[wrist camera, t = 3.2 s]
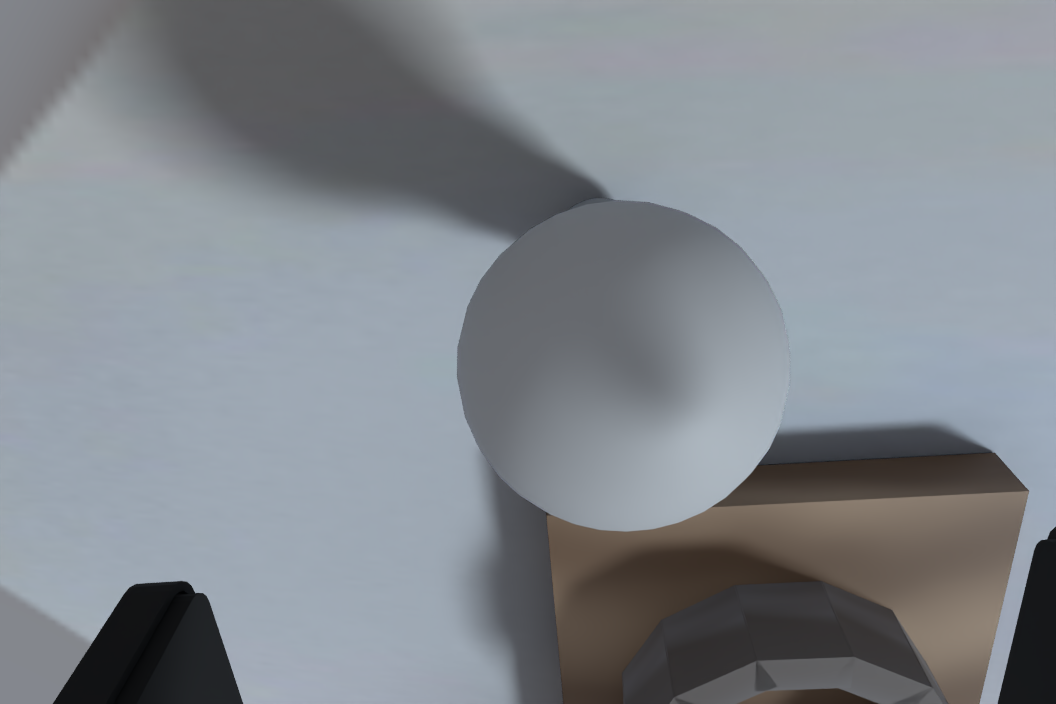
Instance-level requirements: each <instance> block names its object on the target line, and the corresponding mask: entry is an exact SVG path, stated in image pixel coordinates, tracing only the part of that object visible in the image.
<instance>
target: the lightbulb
mask: <svg viewBox="0 0 1056 704" xmlns="http://www.w3.org/2000/svg"><path fill="white" fill-rule="evenodd" d="M457 379H458V384H459V389H460V394H461V399H462V404H463V409H464V414H465V418H466V420H467V423H468V425H469V427H470V429H471V432H472V434H473V436H474V438H475V441H476V443H477V445H478V446H479V448H480V450H481V452H482V453H483V455H484V456H485V458H486V459H487V461H488V462H489V463H490V465H491V466H492V468H493V469H494V470H495V472H496V473H497V474H498V476H499V477H500V478H501V479H502V480H503V481H504V482H505V483H507V484H508V485H509V486H510V487H511V488H512V489H513V490H514V491H515V492H516V493H517V494H518V495H520V496H521V497H523V498H525V499H526V500H528V501H529V502H531V503H532V504H534V505H536V506H537V507H539V508H540V509H542V510H544V511H545V512H547V513H549V514H551V515H553V516H555V517H558V518H560V519H563V520H565V521H568V522H570V523H573V524H575V525H580V526H584V527H589V528H593V529H598V530H608V531H624V532H628V531H639V530H649V529H656V528H660V527H663V526H667V525H671V524H675V523H679V522H681V521H684V520H686V519H688V518H691V517H693V516H695V515H698V514H700V513H702V512H704V511H706V510H707V509H709V508H710V507H712V506H713V505H715V504H717V503H718V502H720V501H721V500H723V499H724V498H726V497H727V496H728V495H729V494H730V493H731V492H732V491H733V490H734V489H736V488H737V487H738V486H739V485H740V484H741V483H742V482H743V481H744V480H745V479H746V478H747V477H748V476H749V475H750V474H751V473H752V472H753V470H754V469H755V468H756V466H757V465H758V463H759V462H760V461H761V459H762V458H763V457H764V455H765V454H766V453H767V451H768V450H769V448H770V446H771V444H772V442H773V440H774V438H775V436H776V433H777V431H778V429H779V427H780V425H781V422H782V417H783V413H784V409H785V404H786V400H787V395H788V391H789V386H790V348H789V341H788V336H787V331H786V327H785V322H784V318H783V314H782V310H781V308H780V305H779V303H778V301H777V299H776V297H775V295H774V293H773V291H772V289H771V287H770V285H769V283H768V281H767V280H766V278H765V277H764V275H763V274H762V272H761V271H760V270H759V269H758V267H757V266H756V265H755V264H754V262H753V261H752V260H751V259H750V257H749V256H748V255H747V254H746V252H745V251H744V250H743V249H742V248H741V247H740V246H739V245H738V244H736V243H735V242H734V241H733V240H731V239H730V238H729V237H728V236H726V235H725V234H724V233H722V232H721V231H720V230H719V229H717V228H716V227H714V226H712V225H710V224H708V223H706V222H704V221H702V220H700V219H698V218H696V217H694V216H692V215H690V214H688V213H685V212H682V211H679V210H676V209H672V208H668V207H665V206H661V205H657V204H653V203H649V202H636V201H621V200H613V199H609V198H594V199H589V200H586V201H583V202H580V203H578V204H577V205H575V206H573V207H572V208H571V209H569V210H568V211H565V212H562V213H559V214H556V215H554V216H553V217H551V218H549V219H547V220H545V221H544V222H542V223H540V224H538V225H537V226H535V227H533V228H531V229H530V230H529V231H527V232H526V233H525V234H524V235H523V236H522V237H520V238H519V239H518V240H517V241H516V242H514V243H513V244H512V245H511V246H510V247H509V248H507V249H506V250H505V251H504V252H503V253H502V254H501V255H500V256H499V257H498V258H497V259H496V261H495V262H494V263H493V265H492V266H491V267H490V268H489V270H488V271H487V272H486V273H485V275H484V276H483V277H482V279H481V280H480V282H479V284H478V286H477V288H476V290H475V292H474V294H473V296H472V298H471V300H470V303H469V305H468V307H467V311H466V315H465V319H464V323H463V327H462V331H461V335H460V339H459V343H458V349H457Z"/></svg>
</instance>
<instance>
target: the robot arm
mask: <svg viewBox="0 0 1056 704" xmlns="http://www.w3.org/2000/svg"><path fill="white" fill-rule="evenodd" d="M53 704H243V702H242V699H241V696H240V693H239V690H238V687H237V684H236V681H235V678H234V675H233V672H232V669H231V666H230V663H229V660H228V657H227V654H226V651H225V648H224V645H223V642H222V639H221V636H220V633H219V630H218V627H217V624H216V621H215V618H214V615H213V611H212V608H211V605H210V602H209V600H208V598H207V596H206V595H204V594H203V593H195V592H194V590H193V588H192V586H191V585H190V584H189V583H188V582H184V581H177V582H161V583H145V584H135V585H133V586H131V587H130V588H129V589H128V590H127V591H126V592H125V594H124V595H123V597H122V598H121V600H120V601H119V603H118V604H117V606H116V607H115V609H114V610H113V612H112V614H111V615H110V617H109V618H108V620H107V621H106V623H105V624H104V626H103V627H102V629H101V630H100V632H99V634H98V635H97V637H96V638H95V640H94V641H93V643H92V644H91V646H90V648H89V649H88V650H87V652H86V654H85V655H84V657H83V658H82V660H81V661H80V663H79V664H78V666H77V667H76V669H75V671H74V672H73V674H72V675H71V677H70V678H69V680H68V682H67V683H66V684H65V686H64V687H63V689H62V690H61V692H60V694H59V695H58V697H57V698H56V700H55V701H54V703H53ZM998 704H1056V527H1055V528H1054V529H1053V530H1052V531H1051V532H1050V534H1049V536H1048V539H1047V540H1041V541H1040V542H1039V543H1038V544H1037V545H1036V547H1035V550H1034V554H1033V558H1032V562H1031V566H1030V570H1029V574H1028V579H1027V583H1026V587H1025V591H1024V595H1023V600H1022V604H1021V608H1020V612H1019V616H1018V621H1017V625H1016V629H1015V633H1014V637H1013V642H1012V646H1011V650H1010V654H1009V658H1008V663H1007V667H1006V671H1005V675H1004V679H1003V683H1002V688H1001V692H1000V696H999V700H998Z"/></svg>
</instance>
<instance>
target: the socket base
mask: <svg viewBox="0 0 1056 704" xmlns="http://www.w3.org/2000/svg"><path fill="white" fill-rule="evenodd" d="M1028 494H1029V490H1028V489H1027V488H1026V487H1025V486H1024V485H1023V484H1022V483H1021V482H1020V480H1019V479H1018V478H1017V477H1016V476H1015V475H1014V474H1013V473H1012V471H1011V470H1010V469H1009V468H1008V467H1007V466H1006V465H1005V464H1004V463H1003V461H1002V460H1001V459H1000V458H999V457H998V456H997V455H996V454H995V453H980V454H962V455H943V456H925V457H906V458H888V459H869V460H851V461H832V462H814V463H795V464H777V465H758V466H756V468H755V469H754V470H753V472H752V473H751V474H750V475H749V476H748V477H747V478H746V479H745V480H744V481H743V482H742V483H741V484H740V485H739V486H738V487H737V488H736V489H734V490H733V491H732V492H731V493H730V494H729V495H728V496H727V497H726V498H724V499H723V500H721V501H720V502H718V503H717V504H715V505H713V506H712V507H710V508H709V509H707V510H706V511H704V512H702V513H700V514H698V515H695V516H693V517H691V518H688V519H686V520H684V521H681V522H679V523H675V524H671V525H667V526H663V527H660V528H656V529H649V530H639V531H628V532H624V531H608V530H598V529H593V528H589V527H584V526H580V525H575V524H573V523H570V522H568V521H565V520H563V519H560V518H558V517H555V516H553V515H551V514H549V513H547V512H546V517H547V528H548V539H549V550H550V561H551V572H552V583H553V594H554V605H555V616H556V627H557V638H558V649H559V660H560V671H561V682H562V693H563V704H979V703H980V698H981V694H982V690H983V686H984V681H985V677H986V673H987V669H988V664H989V660H990V656H991V651H992V647H993V643H994V639H995V634H996V630H997V626H998V622H999V617H1000V613H1001V609H1002V605H1003V600H1004V596H1005V592H1006V587H1007V583H1008V579H1009V575H1010V570H1011V566H1012V562H1013V558H1014V553H1015V549H1016V545H1017V541H1018V536H1019V532H1020V528H1021V523H1022V519H1023V515H1024V511H1025V506H1026V502H1027V498H1028Z"/></svg>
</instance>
